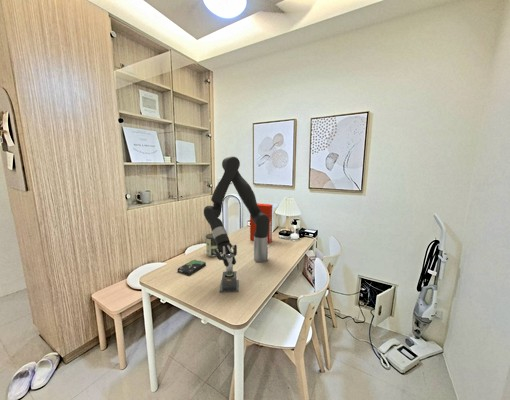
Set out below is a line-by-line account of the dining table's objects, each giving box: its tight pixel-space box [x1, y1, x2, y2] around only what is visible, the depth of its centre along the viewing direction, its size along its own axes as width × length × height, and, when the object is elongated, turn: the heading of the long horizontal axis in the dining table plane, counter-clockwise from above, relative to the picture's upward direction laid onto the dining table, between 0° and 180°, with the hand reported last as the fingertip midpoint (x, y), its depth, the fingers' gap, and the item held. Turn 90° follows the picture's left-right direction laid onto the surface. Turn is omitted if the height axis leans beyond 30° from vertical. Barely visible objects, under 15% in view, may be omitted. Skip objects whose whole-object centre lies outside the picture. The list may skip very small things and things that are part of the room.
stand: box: [219, 270, 240, 294], centre depth 114 cm, size 10×10×7 cm
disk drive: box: [177, 259, 207, 277], centre depth 134 cm, size 10×3×15 cm
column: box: [224, 251, 234, 277], centre depth 113 cm, size 5×5×13 cm
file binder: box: [249, 202, 273, 244], centre depth 182 cm, size 8×17×32 cm, turn 67°
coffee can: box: [205, 232, 221, 257], centre depth 156 cm, size 10×10×14 cm
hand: (231, 265), depth 111 cm, fingers closed on column, 3 cm apart
